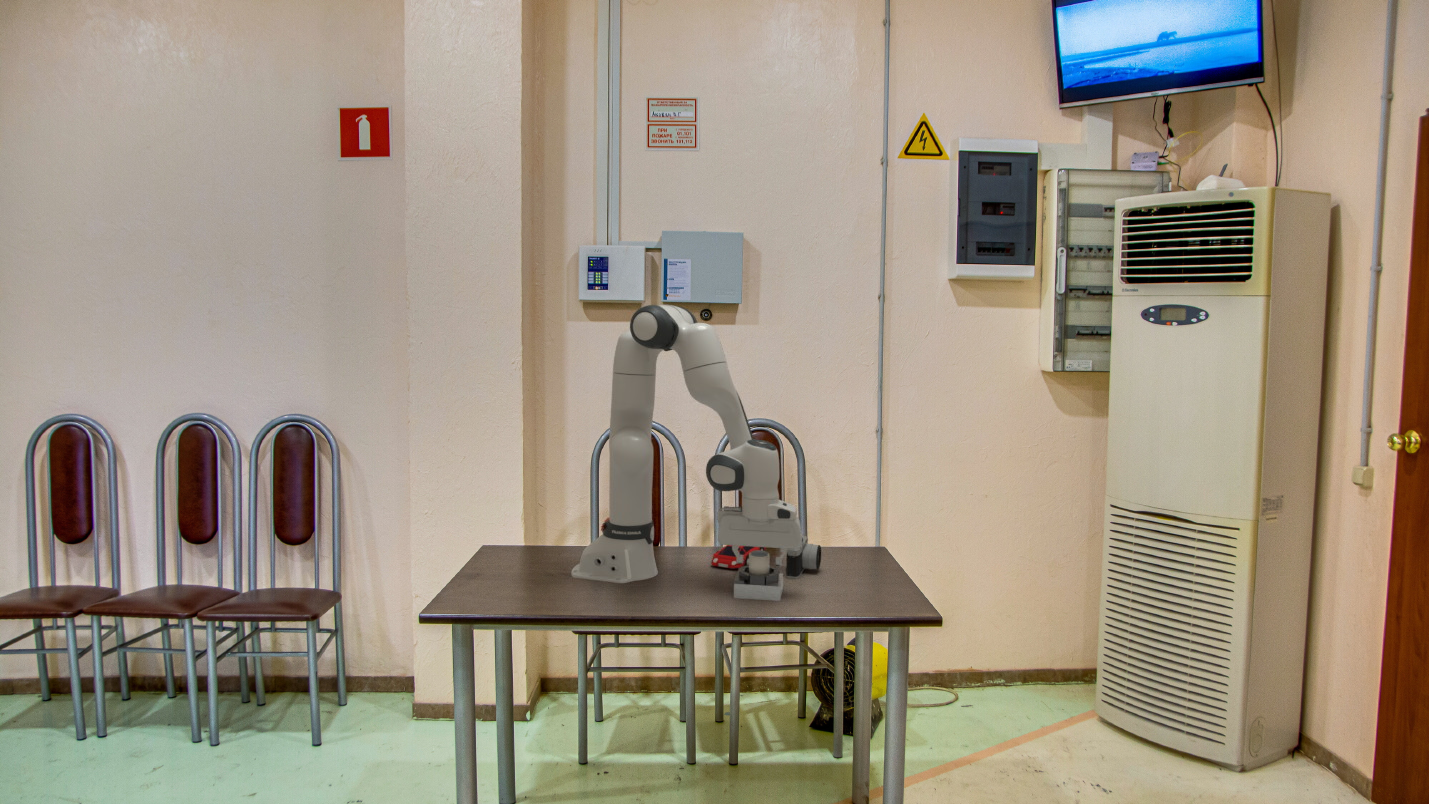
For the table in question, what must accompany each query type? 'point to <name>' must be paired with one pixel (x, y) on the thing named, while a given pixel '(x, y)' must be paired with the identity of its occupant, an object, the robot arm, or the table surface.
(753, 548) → the toy car
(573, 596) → the table surface
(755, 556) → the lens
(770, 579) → the grey ring holder
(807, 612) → the table surface
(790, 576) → the camera
